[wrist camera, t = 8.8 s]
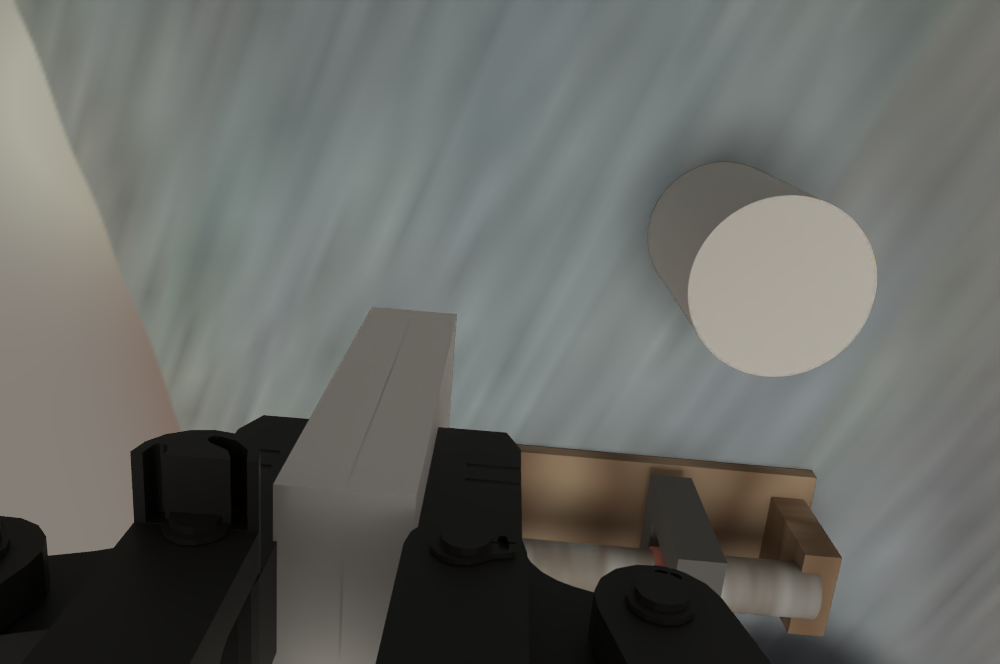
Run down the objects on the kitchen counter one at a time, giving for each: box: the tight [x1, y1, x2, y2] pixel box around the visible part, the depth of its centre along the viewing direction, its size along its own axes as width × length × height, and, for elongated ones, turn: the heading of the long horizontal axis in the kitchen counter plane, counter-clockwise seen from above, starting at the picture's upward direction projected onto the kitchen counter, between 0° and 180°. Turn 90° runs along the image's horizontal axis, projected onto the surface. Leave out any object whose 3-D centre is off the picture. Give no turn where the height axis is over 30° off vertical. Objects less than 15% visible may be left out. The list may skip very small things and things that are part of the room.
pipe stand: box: [517, 445, 842, 636], centre depth 51 cm, size 26×8×9 cm, turn 85°
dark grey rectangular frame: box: [639, 475, 727, 597], centre depth 48 cm, size 2×8×9 cm, turn 175°
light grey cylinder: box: [648, 162, 877, 377], centre depth 44 cm, size 8×8×12 cm
